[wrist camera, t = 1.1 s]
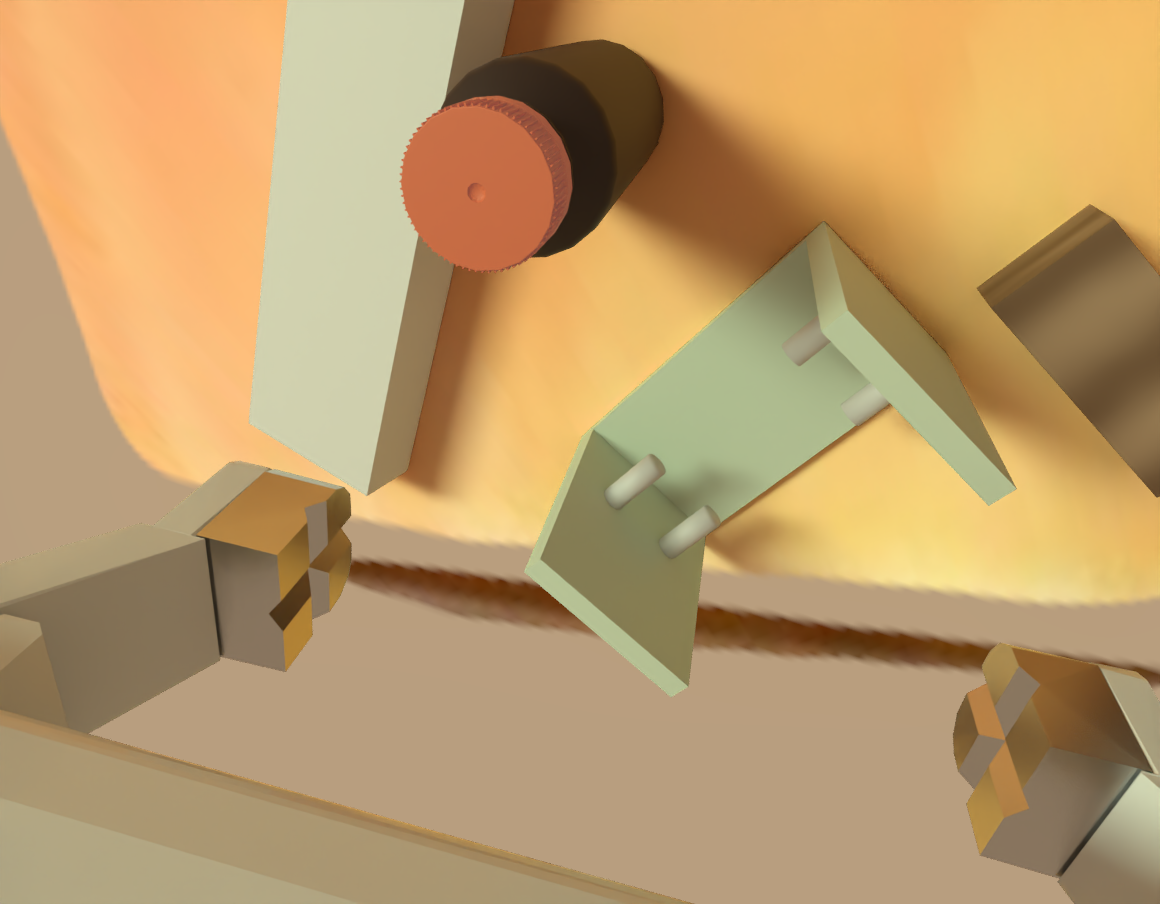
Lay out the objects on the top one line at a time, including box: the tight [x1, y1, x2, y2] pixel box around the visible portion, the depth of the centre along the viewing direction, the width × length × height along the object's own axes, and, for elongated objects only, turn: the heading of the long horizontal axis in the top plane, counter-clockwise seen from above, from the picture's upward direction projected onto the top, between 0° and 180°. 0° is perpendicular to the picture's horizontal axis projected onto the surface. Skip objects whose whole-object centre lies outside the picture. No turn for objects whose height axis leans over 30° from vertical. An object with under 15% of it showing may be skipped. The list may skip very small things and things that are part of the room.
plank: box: [977, 204, 1160, 497], centre depth 40 cm, size 14×6×4 cm, turn 48°
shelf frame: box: [524, 221, 1016, 697], centre depth 40 cm, size 19×10×14 cm, turn 138°
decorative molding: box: [249, 0, 515, 496], centre depth 45 cm, size 34×5×10 cm
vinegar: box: [399, 40, 664, 273], centre depth 32 cm, size 7×7×20 cm
